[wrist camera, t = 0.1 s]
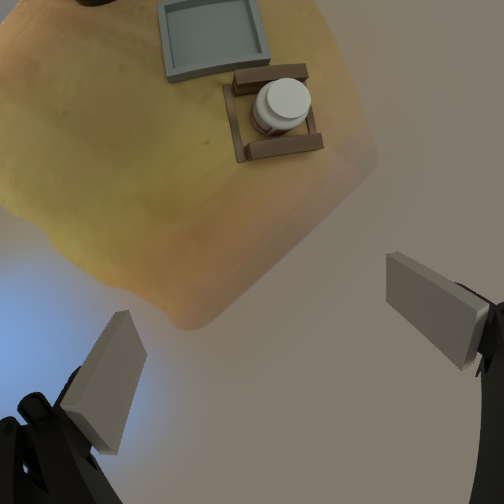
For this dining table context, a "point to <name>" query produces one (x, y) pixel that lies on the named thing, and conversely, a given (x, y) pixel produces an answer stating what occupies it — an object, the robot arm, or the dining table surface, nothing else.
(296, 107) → the pill bottle
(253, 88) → the wooden open frame
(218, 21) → the tray
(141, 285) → the dining table surface
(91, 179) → the dining table surface
